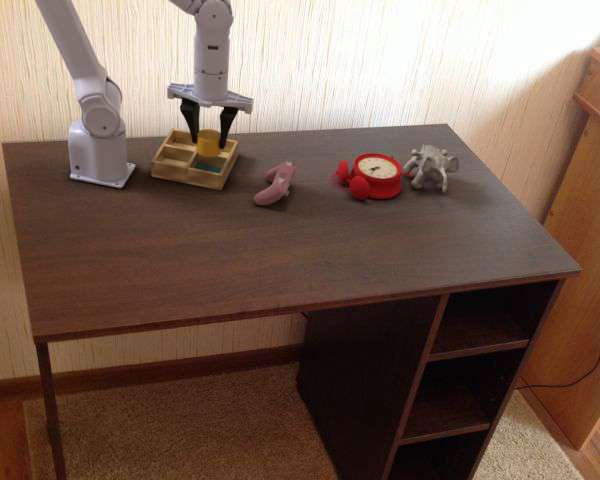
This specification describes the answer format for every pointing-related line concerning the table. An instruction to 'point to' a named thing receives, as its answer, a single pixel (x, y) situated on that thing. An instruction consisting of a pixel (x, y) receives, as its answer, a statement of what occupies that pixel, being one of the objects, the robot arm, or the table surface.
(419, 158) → the gray elephant figurine
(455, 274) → the table surface
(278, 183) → the pink curved piece
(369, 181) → the alarm clock
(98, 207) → the table surface
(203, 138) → the yellow cylinder
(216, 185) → the grid
